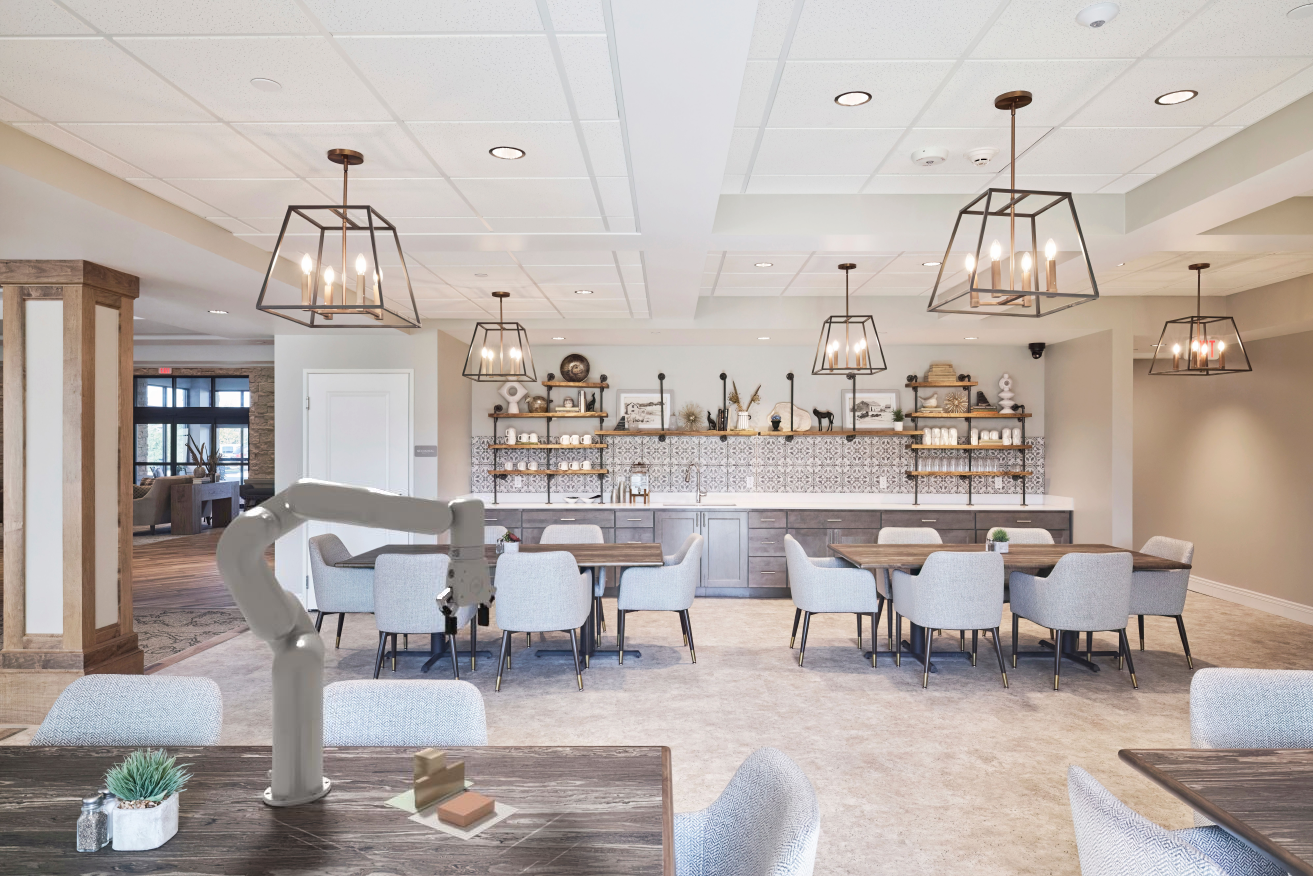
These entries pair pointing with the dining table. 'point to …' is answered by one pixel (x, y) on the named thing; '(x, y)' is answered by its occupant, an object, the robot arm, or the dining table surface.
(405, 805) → the pad
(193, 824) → the dining table surface
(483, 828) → the mat
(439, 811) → the tile
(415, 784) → the stepped beige block
